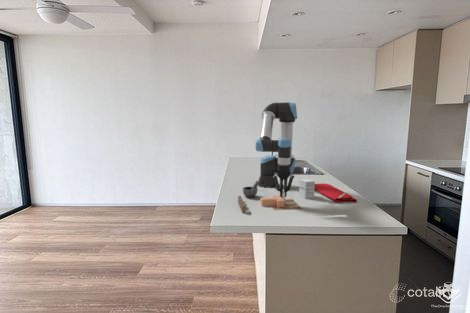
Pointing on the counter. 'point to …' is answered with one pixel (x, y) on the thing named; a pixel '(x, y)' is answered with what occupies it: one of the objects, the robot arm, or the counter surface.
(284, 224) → the counter surface
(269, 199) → the tee
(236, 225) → the counter surface
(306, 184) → the supplement box
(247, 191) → the mortar and pestle
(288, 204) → the board
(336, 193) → the dish drying mat
